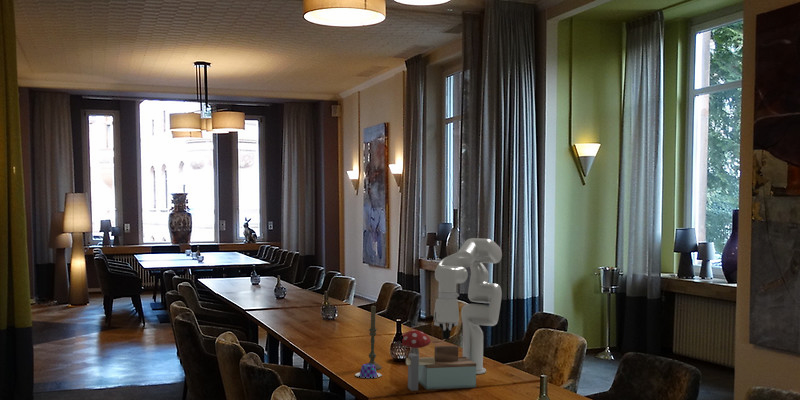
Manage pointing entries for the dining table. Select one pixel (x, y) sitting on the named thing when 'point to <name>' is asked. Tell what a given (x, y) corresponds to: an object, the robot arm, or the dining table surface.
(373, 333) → the candlestick holder
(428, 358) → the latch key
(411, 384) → the toolbox
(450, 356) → the toolbox lid
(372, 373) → the pudding
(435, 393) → the dining table surface
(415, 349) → the decorative mushroom
